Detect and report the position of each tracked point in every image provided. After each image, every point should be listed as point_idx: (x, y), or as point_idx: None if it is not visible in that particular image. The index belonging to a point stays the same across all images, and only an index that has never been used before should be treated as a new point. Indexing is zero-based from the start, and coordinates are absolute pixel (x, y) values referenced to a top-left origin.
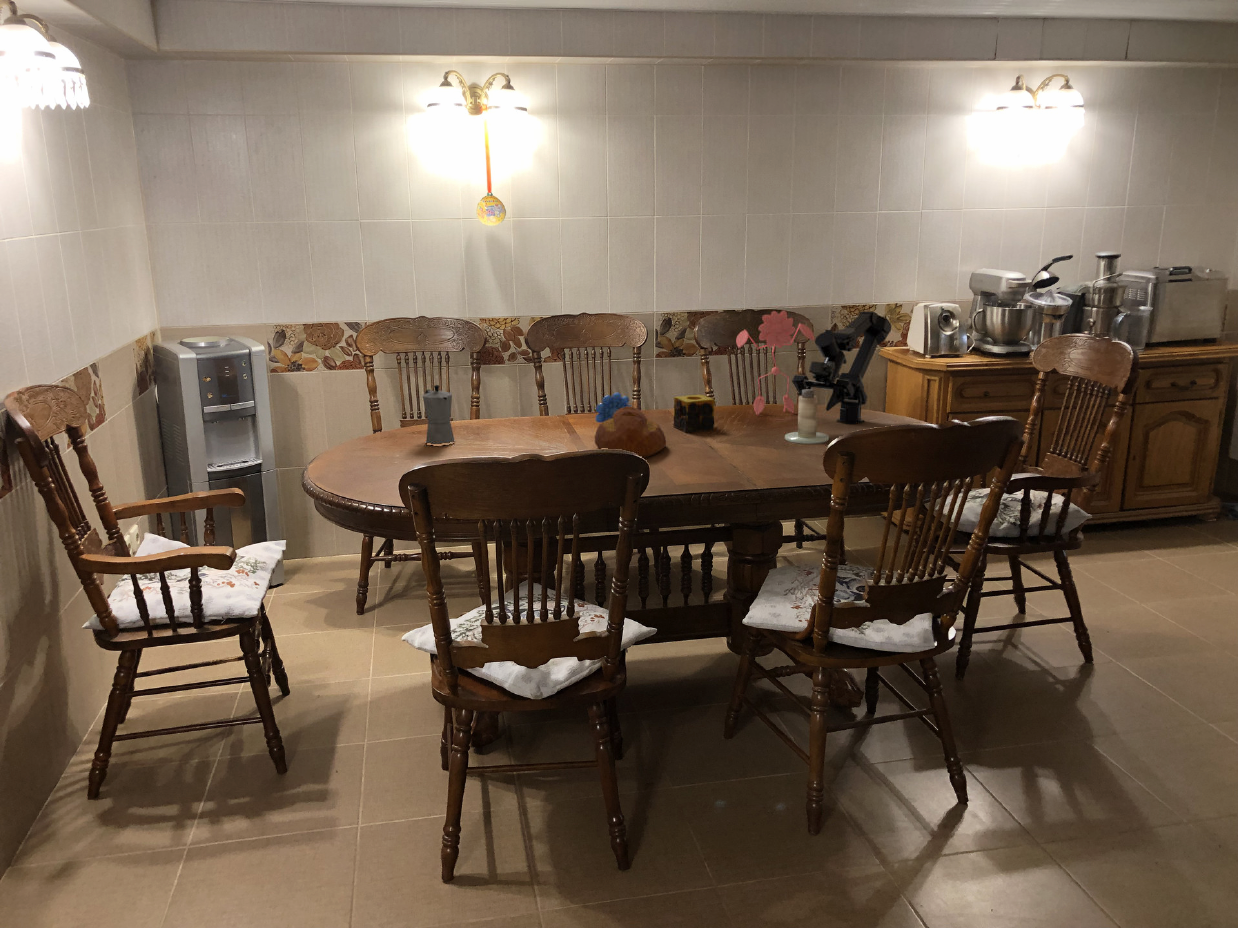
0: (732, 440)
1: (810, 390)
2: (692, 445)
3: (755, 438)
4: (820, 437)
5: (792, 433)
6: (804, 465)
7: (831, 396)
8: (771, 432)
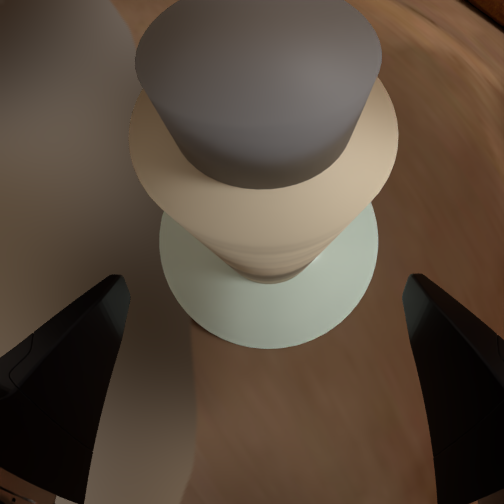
0: (456, 84)
1: (208, 39)
2: (460, 24)
3: (436, 133)
4: (196, 247)
5: (360, 247)
6: (135, 3)
7: (34, 360)
8: (460, 261)
